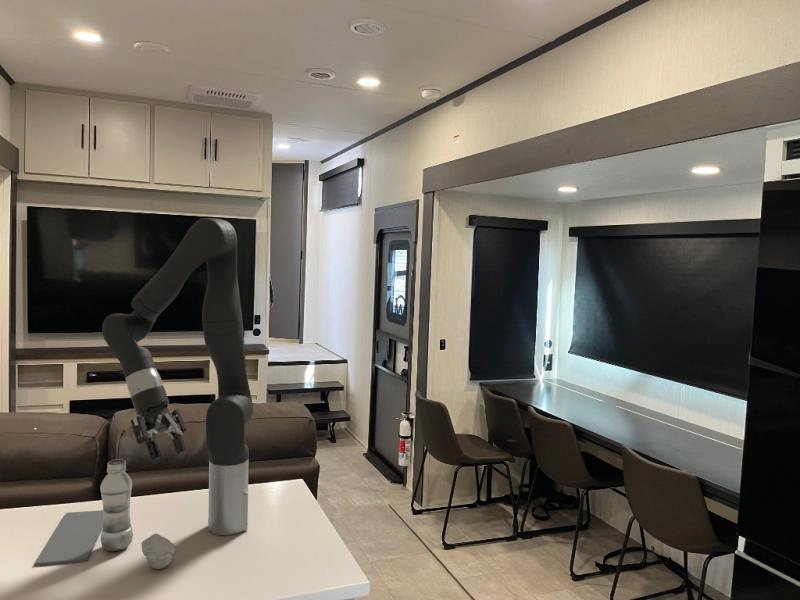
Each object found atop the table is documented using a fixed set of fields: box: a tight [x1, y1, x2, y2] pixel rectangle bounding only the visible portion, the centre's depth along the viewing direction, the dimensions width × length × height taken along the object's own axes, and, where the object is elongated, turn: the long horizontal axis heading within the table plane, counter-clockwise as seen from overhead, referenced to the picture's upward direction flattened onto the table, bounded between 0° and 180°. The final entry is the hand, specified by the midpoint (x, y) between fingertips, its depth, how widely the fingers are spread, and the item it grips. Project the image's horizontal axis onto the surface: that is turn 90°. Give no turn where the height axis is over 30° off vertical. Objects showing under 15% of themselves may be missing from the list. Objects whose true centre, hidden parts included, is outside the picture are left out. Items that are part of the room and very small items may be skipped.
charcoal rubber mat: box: [34, 509, 104, 567], centre depth 140 cm, size 10×24×1 cm, turn 15°
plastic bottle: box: [100, 458, 134, 552], centre depth 135 cm, size 6×7×20 cm
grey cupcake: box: [141, 533, 176, 570], centre depth 129 cm, size 6×7×7 cm
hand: (169, 455), depth 140 cm, fingers open, 8 cm apart
